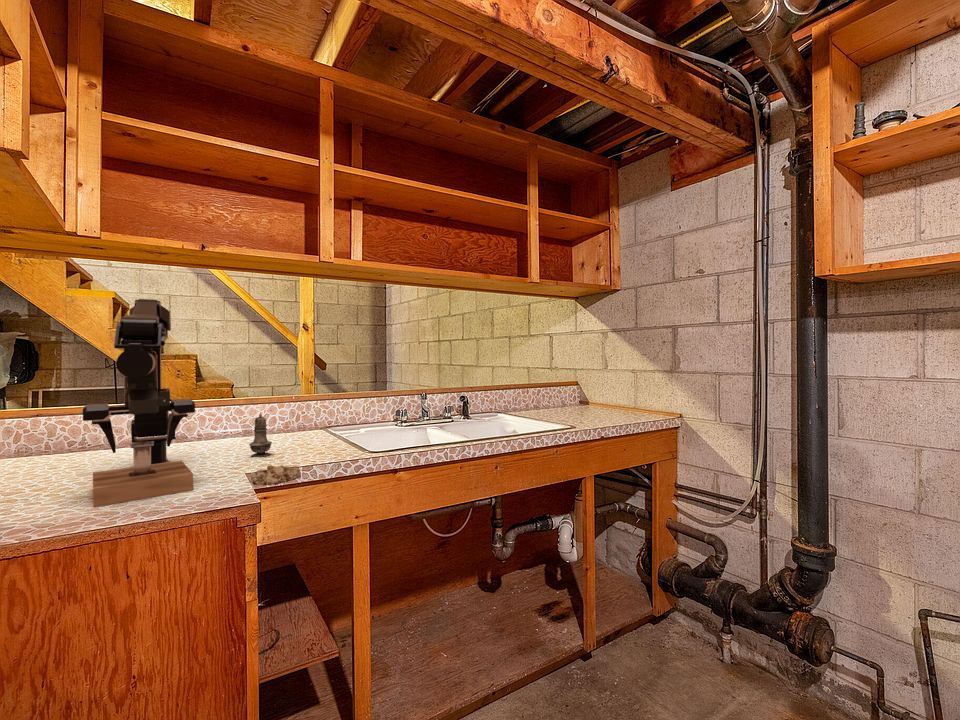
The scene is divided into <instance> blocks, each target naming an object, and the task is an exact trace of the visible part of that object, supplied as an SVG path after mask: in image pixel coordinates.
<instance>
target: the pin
mask: <svg viewBox="0 0 960 720" xmlns="http://www.w3.org/2000/svg"><path fill="white" fill-rule="evenodd" d="M129 446H130V449H132V450H133V451H132V452H133V453H132V454H133V458H132V459H133V467H134V476H140V475H147V474H151V446H154V441H140V442H134V443H132V442H130V445H129Z"/></svg>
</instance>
